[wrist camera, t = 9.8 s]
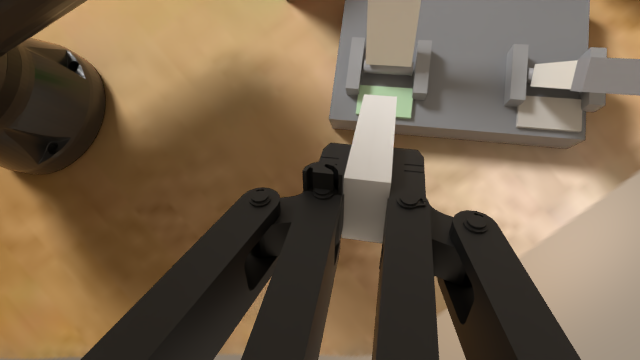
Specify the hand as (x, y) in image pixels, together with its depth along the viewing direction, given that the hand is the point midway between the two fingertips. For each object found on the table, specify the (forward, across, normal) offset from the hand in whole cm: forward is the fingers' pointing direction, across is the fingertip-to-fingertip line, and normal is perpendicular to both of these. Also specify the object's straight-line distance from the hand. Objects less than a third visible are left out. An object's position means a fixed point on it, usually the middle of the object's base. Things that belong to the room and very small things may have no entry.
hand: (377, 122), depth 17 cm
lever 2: (+18, +14, -4) cm, 23 cm away
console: (+22, +6, -5) cm, 23 cm away
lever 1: (+18, 0, -4) cm, 18 cm away
